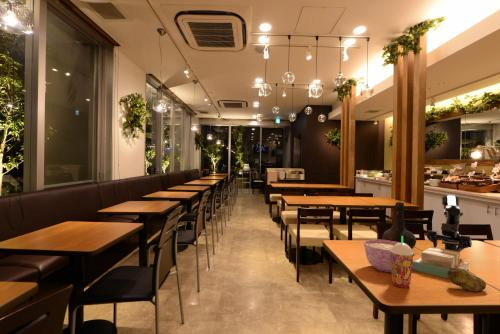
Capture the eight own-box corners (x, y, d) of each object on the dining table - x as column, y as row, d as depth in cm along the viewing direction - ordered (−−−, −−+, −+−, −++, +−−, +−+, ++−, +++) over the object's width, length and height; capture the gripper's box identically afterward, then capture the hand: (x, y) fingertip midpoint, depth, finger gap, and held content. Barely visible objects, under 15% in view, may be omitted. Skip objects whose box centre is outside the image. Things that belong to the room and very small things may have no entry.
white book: (426, 260, 160) (426, 252, 160) (468, 268, 147) (468, 260, 147) (411, 269, 144) (411, 261, 144) (456, 280, 131) (456, 271, 131)
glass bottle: (396, 255, 167) (397, 204, 167) (375, 247, 185) (376, 200, 184) (423, 254, 171) (424, 204, 171) (400, 245, 189) (401, 200, 189)
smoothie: (385, 281, 128) (387, 233, 128) (404, 281, 129) (406, 233, 129) (397, 289, 120) (398, 238, 120) (417, 289, 121) (418, 238, 121)
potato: (487, 296, 115) (488, 275, 115) (447, 288, 122) (447, 268, 122) (485, 289, 122) (485, 269, 122) (447, 282, 129) (447, 263, 129)
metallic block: (431, 263, 155) (431, 246, 155) (459, 269, 147) (459, 251, 147) (421, 270, 144) (421, 252, 144) (450, 277, 135) (451, 258, 135)
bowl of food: (418, 276, 135) (419, 250, 135) (375, 276, 134) (375, 250, 133) (394, 262, 155) (395, 239, 155) (356, 262, 153) (356, 239, 153)
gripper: (428, 215, 162) (421, 238, 154) (471, 220, 148) (465, 246, 141) (432, 228, 167) (425, 251, 159) (474, 234, 154) (468, 260, 146)
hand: (445, 252), depth 151 cm, fingers open, 9 cm apart
